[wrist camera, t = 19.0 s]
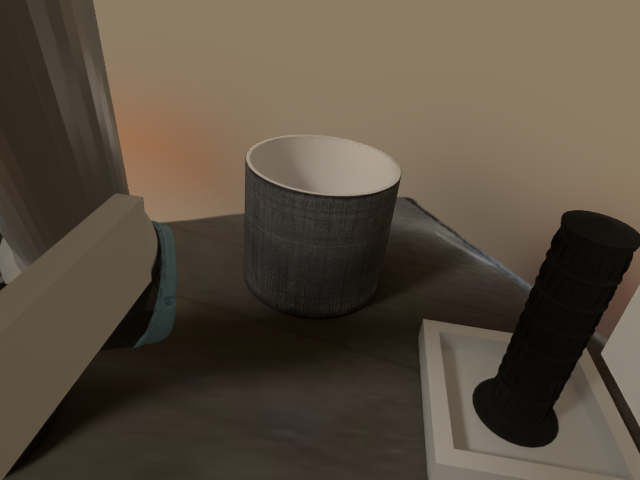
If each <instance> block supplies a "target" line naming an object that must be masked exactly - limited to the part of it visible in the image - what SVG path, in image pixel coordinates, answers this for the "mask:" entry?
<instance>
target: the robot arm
mask: <svg viewBox="0 0 640 480" xmlns="http://www.w3.org/2000/svg"><path fill="white" fill-rule="evenodd" d="M176 288H177V267H176V250H175V241H174V236H173V232H172V230H171V228H170V227H169V226H168V225H167V224H165V223H159V222H156V221H151V220H150V219H149V217H148V215H147V214H146V213H145V212H144V201H143V197H138V196H131V195H130V194H129V189H128V184H127V179H126V173H125V168H124V163H123V157H122V152H121V147H120V142H119V136H118V131H117V126H116V121H115V115H114V110H113V104H112V100H111V94H110V89H109V83H108V78H107V73H106V67H105V62H104V57H103V52H102V46H101V41H100V36H99V30H98V25H97V20H96V14H95V9H94V4H93V0H0V480H3V478H4V477H5V476H6V474H7V473H8V472H9V471H10V470H12V469H13V468H15V467H16V466H17V465H19V464H20V463H21V462H22V461H24V460H25V459H26V458H27V457H28V456H29V455H30V454H31V453H32V452H33V451H34V450H35V449H36V448H37V447H38V446H39V445H40V443H41V442H42V441H43V439H44V438H45V436H46V435H47V433H48V432H49V430H50V428H51V426H52V423H53V421H54V418H55V413H56V407H57V406H58V405H59V403H60V402H61V401H62V399H63V398H64V397H65V395H66V394H67V393H68V391H69V390H70V389H71V387H72V386H73V385H74V383H75V382H76V381H77V379H78V378H79V377H80V375H81V374H82V373H83V371H84V370H85V369H86V367H87V366H88V365H89V363H90V362H91V361H92V359H93V358H94V357H95V355H96V354H97V353H98V351H101V350H109V349H117V348H125V347H126V348H128V349H131V348H138V347H140V346H141V345H145V344H151V343H157V342H160V341H162V340H164V339H165V338H167V336H168V335H169V334H170V332H171V330H172V328H173V324H174V319H175V310H176V299H175V296H176ZM601 355H602V357H603V359H604V360H605V362H606V364H607V366H608V368H609V370H610V372H611V374H612V375H613V377H614V379H615V381H616V383H617V385H618V387H619V389H620V390H621V392H622V394H623V396H624V398H625V400H626V402H627V404H628V406H629V407H630V409H631V411H632V413H633V415H634V417H635V419H636V421H637V422H638V424H639V426H640V285H639V287H638V288H637V290H636V292H635V294H634V296H633V297H632V299H631V301H630V303H629V304H628V306H627V308H626V310H625V311H624V313H623V315H622V317H621V319H620V320H619V322H618V324H617V326H616V327H615V329H614V331H613V333H612V335H611V336H610V338H609V340H608V342H607V343H606V345H605V347H604V349H603V351H602V352H601Z"/></svg>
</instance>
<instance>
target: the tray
mask: <svg viewBox="0 0 640 480" xmlns="http://www.w3.org/2000/svg"><path fill="white" fill-rule="evenodd" d="M512 335H513V333H506V332H500V331H494V330H488V329H482V328H476V327H470V326H463V325H457V324H451V323H445V322H439V321H433V320H426V319H423V321H422V325H421V328H420V332H419V336H418V347H419V361H420V375H421V389H422V403H423V418H424V432H425V446H426V460H427V475H428V480H640V454H639V452H638V450H637V448H636V446H635V444H634V442H633V440H632V438H631V436H630V434H629V432H628V430H627V428H626V426H625V424H624V422H623V420H622V418H621V416H620V414H619V412H618V410H617V408H616V406H615V404H614V402H613V400H612V398H611V396H610V394H609V392H608V390H607V388H606V386H605V384H604V382H603V380H602V378H601V376H600V374H599V372H598V370H597V368H596V366H595V364H594V362H593V360H592V358H591V356H590V354H589V352H588V350H587V348H585V350H583V355H582V356H581V357H580V359H578V362H577V363H576V366H575V368H574V370H573V372H572V373H571V377H570V378H569V380H568V381H567V382H566V384H565V386H564V389H563V391H562V392H561V394H560V397H559V399H558V400H557V401H556V403H555V405H554V406H553V409H554V411H555V413H556V416H557V419H558V425H559V431H558V434H557V437H556V438H555V439H554V440H553V441H552V442H551V443H550V444H548V445H546V446H544V447H537V448H529V447H521V446H518V445H515V444H512V443H510V442H508V441H506V440H504V439H502V438H500V437H498V436H497V435H496V434H494V433H493V432H492V431H490V430H489V429H488V428H487V427H486V426H485V425H484V423H483V422H482V421H481V420H480V418H479V417H478V415H477V414H476V412H475V409H474V406H473V401H472V395H473V392H474V389H475V388H476V387H477V386H478V384H479V383H481V382H482V381H485V380H487V379H490V378H495V376H496V375H497V373H498V368H499V365H500V364H501V363H502V359H503V356H504V355H505V354H506V352H507V346H508V344H509V343H510V339H511V337H512Z"/></svg>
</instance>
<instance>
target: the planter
mask: <svg viewBox="0 0 640 480" xmlns="http://www.w3.org/2000/svg"><path fill="white" fill-rule="evenodd" d="M400 178H401V169H400V167H399V165H398V164H397V162H396V161H395V160H394V159H392V158H391V157H390V156H388V155H387V154H385V153H384V152H382V151H380V150H378V149H376V148H373V147H370V146H368V145H366V144H362V143H359V142H356V141H352V140H348V139H343V138H338V137H331V136H322V135H288V136H281V137H275V138H270V139H267V140H264V141H261V142H259V143H257V144H256V145H254V146H252V147H251V148H250V149H249V150H248V152H247V154H246V161H245V244H244V278H245V282H246V284H247V286H248V288H249V289H250V291H251V292H252V293H253V294H254V295H255V296H256V297H257V298H258V299H259V300H261V301H262V302H263V303H265V304H267V305H268V306H270V307H272V308H274V309H276V310H279V311H282V312H284V313H288V314H291V315H296V316H301V317H309V318H329V317H336V316H341V315H345V314H348V313H351V312H354V311H356V310H358V309H360V308H362V307H363V306H365V305H366V304H367V303H368V302H369V301H370V300H371V299H372V298H373V296H374V295H375V293H376V290H377V287H378V282H379V276H380V271H381V267H382V263H383V258H384V254H385V249H386V245H387V240H388V235H389V231H390V226H391V221H392V217H393V212H394V207H395V203H396V198H397V193H398V188H399V184H400Z"/></svg>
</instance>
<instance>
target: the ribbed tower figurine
mask: <svg viewBox="0 0 640 480" xmlns="http://www.w3.org/2000/svg"><path fill="white" fill-rule="evenodd" d="M639 246H640V234H639V233H638V232H637V231H636V230H635V229H633V228H632V227H630V226H629V225H627V224H625V223H623V222H621V221H619V220H617V219H614V218H612V217H609V216H606V215H603V214H599V213H595V212H590V211H582V210H573V211H567V212H565V213H564V214H563V215H562V218H561V227H560V228H559V230H558V231H557V233H556V234H555V235H554V236H553V239H552V241H551V248H550V249H549V250H548V251H547V253H546V259H545V261H544V262H543V263H542V266H541V268H540V270H539V275H538V276H537V277H536V281H535V285H534V287H533V288H532V289H531V292H530V294H529V299H527V301H526V303H525V309H524V311H523V312H522V313H521V315H520V318H519V322H518V323H517V325H516V329H515V332H514V334H513V335H512V337H511V339H510V343H509V344H508V346H507V352H506V354H505V355H504V356H503V359H502V363H501V364H500V365H499V368H498V373H497V375H496V376H495V378H490V379H487V380H485V381H482V382H481V383H479V384H478V386H477V387H476V388H475V389H474V392H473V395H472V401H473V406H474V409H475V412H476V414H477V415H478V417H479V418H480V420H481V421H482V422H483V423H484V425H485V426H486V427H487V428H488V429H489V430H490V431H492V432H493V433H494V434H496V435H497V436H498V437H500V438H502V439H504V440H506V441H508V442H510V443H512V444H515V445H518V446H521V447H529V448H537V447H544V446H546V445H548V444H550V443H551V442H552V441H553V440H554V439H555V438H556V437H557V434H558V431H559V425H558V419H557V416H556V413H555V411H554V409H553V406H554V405H555V403H556V401H557V400H558V399H559V397H560V394H561V392H562V391H563V389H564V386H565V384H566V382H567V381H568V380H569V378H570V377H571V373H572V372H573V370H574V368H575V366H576V363H577V362H578V359H580V357H581V356H582V355H583V350H585V348H586V346H587V344H588V341H589V339H590V336H592V335H593V334H594V332H595V327H596V326H597V325H598V324H599V322H600V320H601V317H602V315H603V312H604V311H605V310H606V309H607V308H608V304H609V302H610V300H612V297H613V296H614V294H615V291H616V289H617V285H618V284H620V283H621V281H622V278H623V274H624V273H625V272H626V271H627V270H628V268H629V266H630V263H631V261H632V258H633V252H634V251H636V250H637V249H638V248H639Z"/></svg>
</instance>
